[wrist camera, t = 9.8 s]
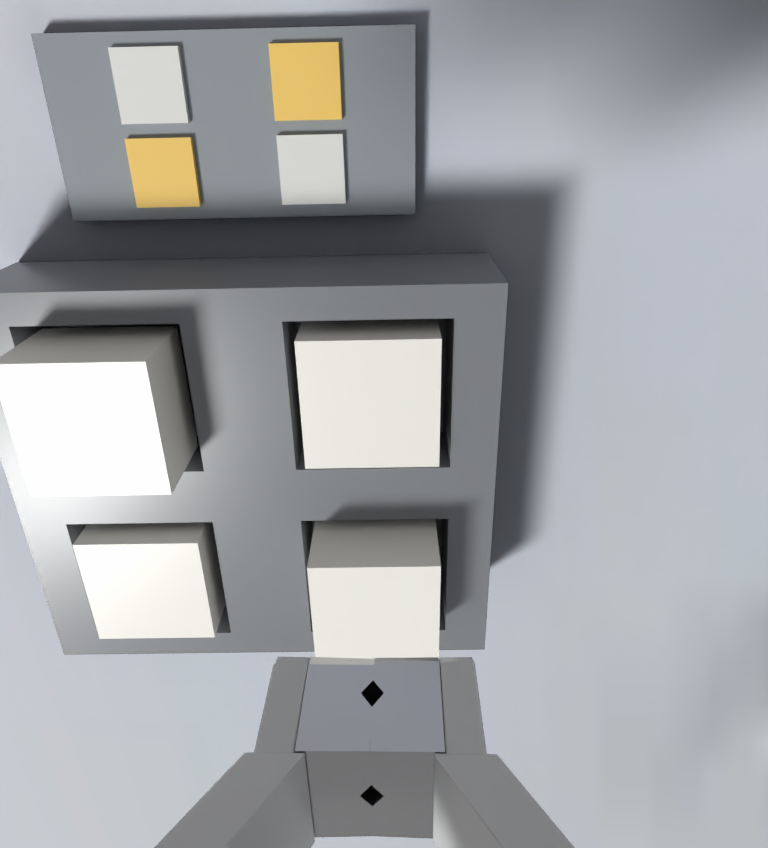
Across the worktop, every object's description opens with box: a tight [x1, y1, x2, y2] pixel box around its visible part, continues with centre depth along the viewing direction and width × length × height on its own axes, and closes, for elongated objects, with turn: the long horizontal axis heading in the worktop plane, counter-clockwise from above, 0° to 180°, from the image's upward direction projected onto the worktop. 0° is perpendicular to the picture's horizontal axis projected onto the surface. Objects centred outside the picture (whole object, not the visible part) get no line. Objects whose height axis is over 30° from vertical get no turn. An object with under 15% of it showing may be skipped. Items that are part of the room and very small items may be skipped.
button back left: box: [73, 522, 226, 639], centre depth 24 cm, size 4×4×3 cm
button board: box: [0, 253, 508, 655], centre depth 24 cm, size 16×14×4 cm
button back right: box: [307, 519, 441, 659], centre depth 23 cm, size 4×4×3 cm
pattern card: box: [31, 24, 415, 221], centre depth 20 cm, size 11×5×1 cm, turn 91°
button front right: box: [294, 319, 442, 469], centre depth 21 cm, size 4×4×3 cm
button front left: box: [0, 326, 198, 497], centre depth 20 cm, size 4×4×3 cm
